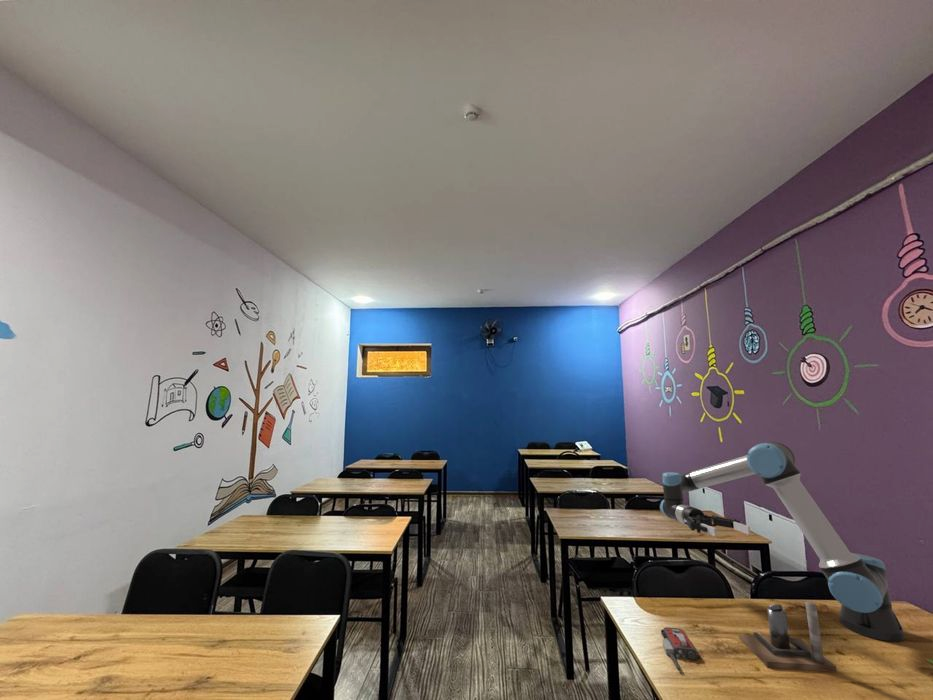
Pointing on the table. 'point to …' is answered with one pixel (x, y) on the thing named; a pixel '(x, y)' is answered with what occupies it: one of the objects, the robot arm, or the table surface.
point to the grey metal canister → (778, 627)
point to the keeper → (793, 647)
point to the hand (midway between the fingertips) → (732, 531)
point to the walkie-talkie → (678, 645)
